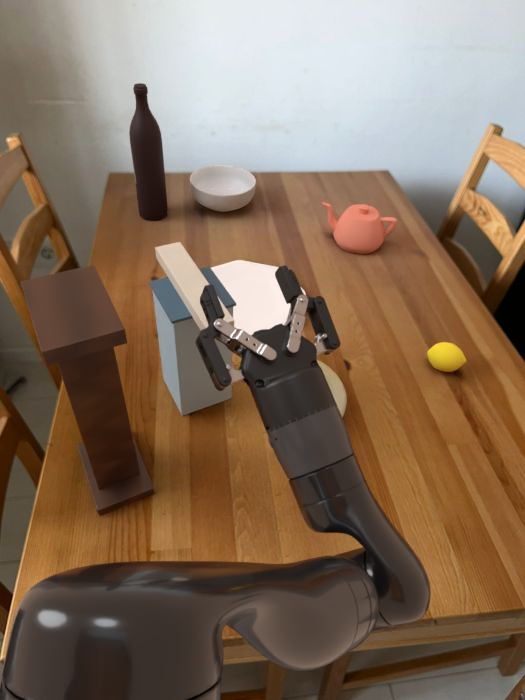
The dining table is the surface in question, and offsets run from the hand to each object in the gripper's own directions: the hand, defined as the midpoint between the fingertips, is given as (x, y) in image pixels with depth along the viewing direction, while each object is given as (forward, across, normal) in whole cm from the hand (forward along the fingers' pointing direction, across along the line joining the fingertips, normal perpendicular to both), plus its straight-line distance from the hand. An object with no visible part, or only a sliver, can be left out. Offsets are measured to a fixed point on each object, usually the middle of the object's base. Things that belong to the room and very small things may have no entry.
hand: (244, 277), depth 54 cm
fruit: (-12, -18, +33) cm, 40 cm away
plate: (+12, -18, +47) cm, 52 cm away
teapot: (+21, -52, +52) cm, 77 cm away
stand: (-12, +17, +33) cm, 39 cm away
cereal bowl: (+45, -30, +66) cm, 86 cm away
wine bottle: (+47, -12, +68) cm, 83 cm away
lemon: (-16, -43, +31) cm, 55 cm away
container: (-3, 0, +38) cm, 38 cm away
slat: (+7, 0, +20) cm, 21 cm away
